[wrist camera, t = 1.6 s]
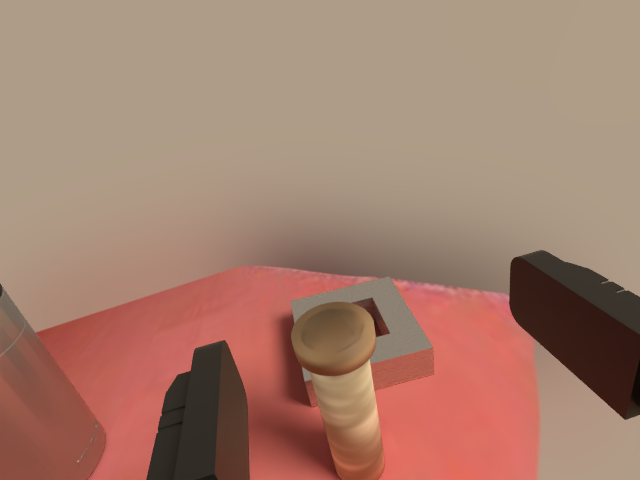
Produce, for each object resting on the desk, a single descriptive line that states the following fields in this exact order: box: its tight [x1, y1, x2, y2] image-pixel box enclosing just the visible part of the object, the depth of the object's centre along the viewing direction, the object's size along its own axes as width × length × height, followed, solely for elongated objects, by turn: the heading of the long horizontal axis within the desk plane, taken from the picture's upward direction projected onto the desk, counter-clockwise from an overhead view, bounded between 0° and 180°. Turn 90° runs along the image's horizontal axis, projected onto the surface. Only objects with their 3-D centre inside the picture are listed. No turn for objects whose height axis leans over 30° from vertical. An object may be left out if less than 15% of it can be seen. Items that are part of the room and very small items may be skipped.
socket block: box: [291, 277, 434, 407], centre depth 40 cm, size 12×12×4 cm
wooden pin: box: [291, 302, 385, 480], centre depth 27 cm, size 5×5×14 cm
